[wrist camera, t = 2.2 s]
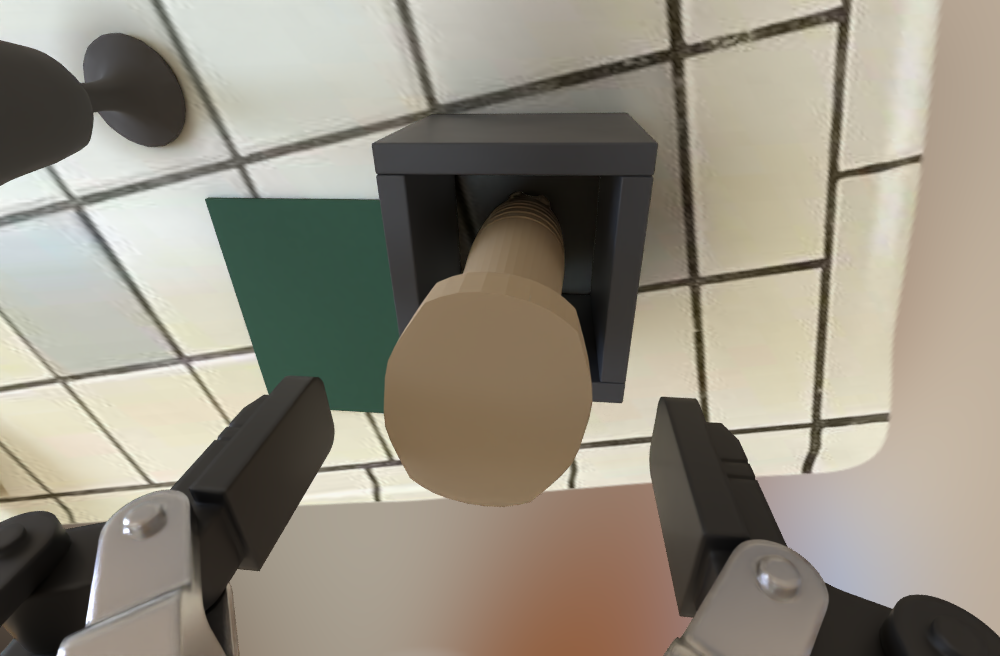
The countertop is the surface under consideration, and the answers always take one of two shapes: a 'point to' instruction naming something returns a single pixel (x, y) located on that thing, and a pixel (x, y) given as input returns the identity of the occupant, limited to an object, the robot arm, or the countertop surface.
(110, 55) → the sundae
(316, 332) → the mat
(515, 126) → the grey box
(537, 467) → the handle
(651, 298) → the countertop surface
